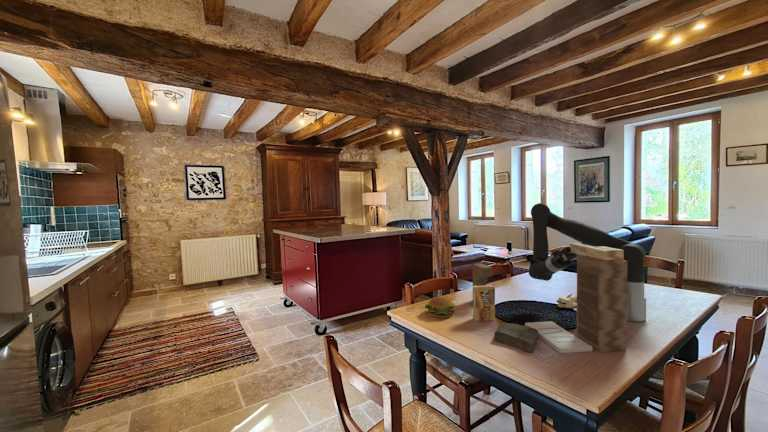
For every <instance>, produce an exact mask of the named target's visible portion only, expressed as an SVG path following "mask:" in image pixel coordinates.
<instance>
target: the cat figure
mask: <svg viewBox="0 0 768 432" xmlns="http://www.w3.org/2000/svg"><path fill="white" fill-rule="evenodd" d="M572 295H573V293H571V294H569V295H568V296H565V297H564V296H559V297H558V298H557V300H556V305H557V306H558V308H566V309H573V307H575V306H576V304H577V295H574V296H572Z"/></svg>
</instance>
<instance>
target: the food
mask: <svg viewBox="0 0 768 432" xmlns="http://www.w3.org/2000/svg"><path fill="white" fill-rule="evenodd" d="M424 308H425V309H427V310H428V315H430V316H431V317H432V318H437V319H444V318H445V319H446V318H450V317H452V316H453V315H454V313H455V310H456V304H455V303H453V302H452V300H451V299H450V298H448V297H445V296H436V297H432V298H431V299H430V300H429V301H428V302H426V303H425V304H424Z"/></svg>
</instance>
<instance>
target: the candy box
mask: <svg viewBox="0 0 768 432" xmlns="http://www.w3.org/2000/svg"><path fill="white" fill-rule="evenodd" d="M495 288H496V287H495V286H494V285H490V284H489V285H488V284H487V285H482V286H473V285H472V309H473V312H472V313H473V314H472V316H473V317H472V318H473V319H474V321H475V322H484V321H487V322H488V321H496V301H495V300H496V297H495V296H496V295H495V293H496V289H495Z"/></svg>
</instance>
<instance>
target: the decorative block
mask: <svg viewBox="0 0 768 432" xmlns="http://www.w3.org/2000/svg"><path fill="white" fill-rule="evenodd" d="M491 277H493V267H492V266H489V265H487V264H484V263H473V264H472V287H473V286H482V285H488V284H487V282H488V279H489V278H491Z"/></svg>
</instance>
